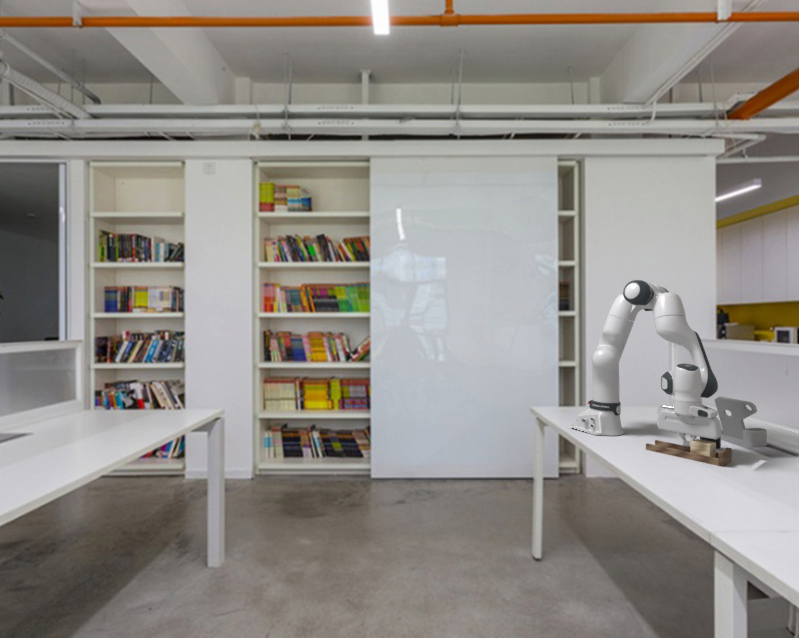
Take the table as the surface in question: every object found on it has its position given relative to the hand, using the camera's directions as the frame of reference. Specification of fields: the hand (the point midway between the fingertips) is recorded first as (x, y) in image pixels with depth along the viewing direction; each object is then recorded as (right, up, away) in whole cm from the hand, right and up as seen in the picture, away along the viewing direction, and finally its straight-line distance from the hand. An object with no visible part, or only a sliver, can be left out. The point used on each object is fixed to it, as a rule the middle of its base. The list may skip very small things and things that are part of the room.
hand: (687, 446), depth 165 cm
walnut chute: (0, -5, 0) cm, 5 cm away
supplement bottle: (+16, -5, +12) cm, 21 cm away
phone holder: (+38, -5, +24) cm, 45 cm away
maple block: (+3, -3, -4) cm, 6 cm away
